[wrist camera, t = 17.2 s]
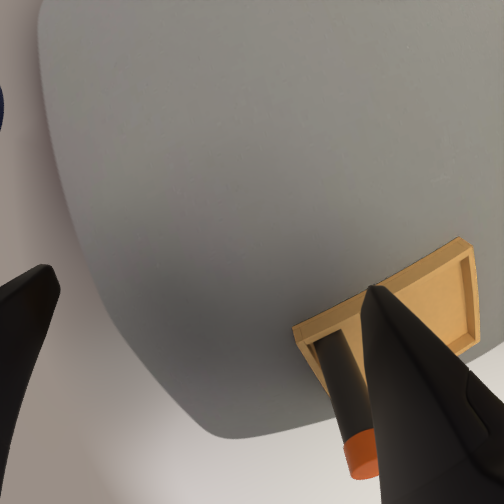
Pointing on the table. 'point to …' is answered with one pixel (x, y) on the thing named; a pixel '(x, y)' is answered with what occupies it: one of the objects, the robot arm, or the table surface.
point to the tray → (410, 305)
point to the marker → (349, 404)
